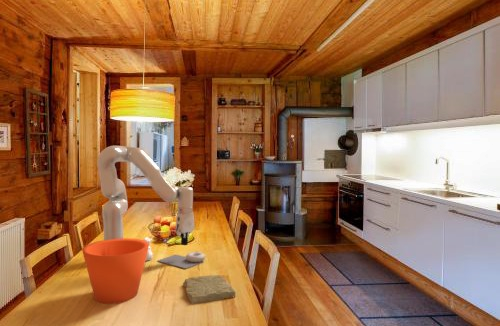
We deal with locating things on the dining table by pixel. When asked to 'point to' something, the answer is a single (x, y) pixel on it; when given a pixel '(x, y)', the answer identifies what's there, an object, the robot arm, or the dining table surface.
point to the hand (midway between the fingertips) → (184, 244)
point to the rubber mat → (179, 262)
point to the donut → (195, 257)
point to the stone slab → (207, 288)
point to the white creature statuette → (149, 253)
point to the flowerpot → (115, 268)
